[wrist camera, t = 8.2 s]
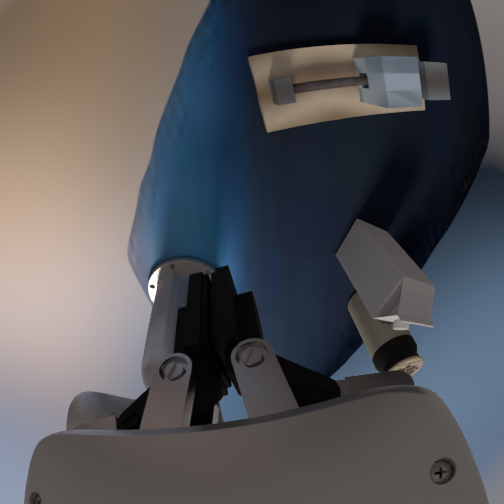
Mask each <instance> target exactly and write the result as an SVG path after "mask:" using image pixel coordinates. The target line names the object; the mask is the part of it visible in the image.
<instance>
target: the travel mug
mask: <svg viewBox="0 0 504 504" xmlns="http://www.w3.org/2000/svg"><path fill="white" fill-rule="evenodd" d="M348 310H349V312H350V314H351V316H352V318H353V320H354V322H355V324H356V326H357V329H358V331H359V333H360V335H361V337H362V339H363V341H364V343H365V345H366V348H367V350H368V352H369V354H370V357H371V359H372V361H373V363H374V365H375V368H376V369H377V370H378V371H380V372H387V371H393V370H401V371H404V372H407V373H408V374H409V375H410V376H412V375H414V374H415V373H416V372H417V371H418V370H419V369H420V367H421V366H422V364H423V358H422V357H421V356H419V355H418V354H417V345H416V342H415V341H414V339H413V337H412V336H411V334H410V332H409V331H408V329H407V330H394V329H393V322H390V321H384V320H379V319H374V318H372V317H371V316H370V314H369V312H368V310H367V308H366V307H365V305H364V303H363V301H362V299H361V298H360V296H359V294H358V292H356V293H355V294H354V295H353V296H352V297H351V299H350V301H349V303H348Z"/></svg>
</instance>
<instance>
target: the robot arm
mask: <svg viewBox="0 0 504 504" xmlns="http://www.w3.org/2000/svg"><path fill="white" fill-rule="evenodd" d="M148 293H149V296H150V298H151V300H152V302H153V308H152V313H151V318H150V322H149V328H148V332H147V338H146V343H145V349H144V355H143V361H142V378H143V381H144V384H145V386H146V388H147V390H146V391H145V392H144V393H143V394H142V395H141V396H140V397H139V398H138V399H136V400H134V399H129V398H123V397H119V396H114V395H109V394H105V393H99V392H92V391H87V392H82V393H80V394H78V395H77V396H76V397H75V398H74V399H73V401H72V402H71V405H70V407H69V411H68V416H67V431H62V432H58V433H55V434H52V435H49V436H47V437H45V438H44V439H42V440H41V441H40V442H39V443H38V444H37V446H36V448H35V450H34V453H33V455H32V459H31V462H30V467H29V471H28V477H27V483H26V490H25V500H24V504H489V503H488V500H487V496H486V492H485V489H484V486H483V482H482V479H481V476H480V474H479V471H478V468H477V466H476V463H475V460H474V458H473V455H472V453H471V450H470V448H469V446H468V444H467V442H466V439H465V437H464V435H463V433H462V431H461V429H460V427H459V425H458V423H457V422H456V420H455V418H454V417H453V415H452V413H451V411H450V410H449V409H448V407H447V406H446V404H445V403H444V402H443V400H442V399H441V398H440V397H439V396H438V395H437V394H436V393H434V392H433V391H431V390H430V389H427V388H424V387H420V386H415V385H414V381H413V379H412V377H411V376H410V375H409V374H408V373H407V372H404V371H401V370H393V371H387V372H380V373H374V374H366V375H359V376H351V377H345V380H337V381H335V380H333V379H331V378H330V377H327V376H325V375H322V374H320V373H317V372H315V371H312V370H310V369H308V368H305V367H303V366H300V365H298V364H296V363H293V362H291V361H289V360H287V359H284V358H282V357H280V356H278V355H275V353H274V351H273V349H272V347H271V345H270V344H269V343H268V342H267V341H265V340H264V338H263V333H262V328H261V323H260V319H259V315H258V310H257V306H256V303H255V299H254V296H253V292H252V291H251V292H247V293H242V294H238V295H237V292H236V289H235V286H234V282H233V279H232V276H231V273H230V270H229V267H228V265H227V266H223V267H219V268H215V269H214V268H213V267H212V266H210V265H209V264H207V263H205V262H203V261H201V260H198V259H194V258H187V257H179V258H173V259H169V260H167V261H164V262H162V263H161V264H159V265H158V266H157V267H156V268H155V269H154V270H153V272H152V273H151V275H150V278H149V281H148ZM231 381H232V383H233V384H234V386H235V388H236V390H237V392H238V394H239V395H241V396H242V398H243V401H244V404H245V407H246V410H247V413H248V417H249V418H248V419H242V420H236V421H229V422H223V418H222V414H221V409H220V403H219V401H220V400H221V399H222V397H223V396H225V395H228V390H227V388H228V387H231ZM433 463H434V464H433ZM444 483H445V484H444ZM443 484H444V485H443Z"/></svg>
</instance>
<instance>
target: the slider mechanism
mask: <svg viewBox="0 0 504 504" xmlns="http://www.w3.org/2000/svg"><path fill="white" fill-rule="evenodd" d="M376 56H403V57H417V62H418V68H419V75H420V83H421V92H422V102H423V106H420V107H403V108H391V109H388V108H384V107H380V106H376V105H372V104H367V103H363V102H361V101H360V95H359V88H358V86H361V85H369V84H368V78H367V76H356V71H355V66H354V61H353V58H362V57H376ZM248 61H249V65H250V69H251V73H252V77H253V81H254V85H255V88H256V92H257V96H258V100H259V105H260V109H261V113H262V117H263V121H264V125H265V130H266V131H267V132H272V131H277V130H281V129H286V128H291V127H296V126H301V125H307V124H312V123H318V122H323V121H329V120H336V119H342V118H349V117H357V116H364V115H373V114H382V113H392V112H404V111H418V110H425V102H424V99H426V100H450V91H449V81H448V72H447V65H446V63H436V62H420V61H419V56H418V50H417V46H413V45H397V44H345V45H328V46H316V47H307V48H298V49H290V50H283V51H277V52H271V53H265V54H259V55H254V56H249V57H248Z"/></svg>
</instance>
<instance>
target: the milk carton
mask: <svg viewBox="0 0 504 504" xmlns="http://www.w3.org/2000/svg"><path fill="white" fill-rule="evenodd" d="M336 256H337V258H338V259H339V261H340V263H341V264H342V266H343V268H344V270H345V271H346V273H347V275H348V276H349V278H350V280H351V282H352V283H353V285H354V287H355V289H356V290H357V292H358V294H359V296H360V298H361V299H362V301H363V303H364V305H365V307H366V308H367V310H368V312H369V314H370V316H371V317H372V318H374V319H379V320H384V321H390V322H393V329H394V330H407V329H409V324H417V325H423V326H428V327H434V325H433V324H432V322H431V321H430V319H431V313H432V306H433V299H434V291H435V287H434V286H433V285H432V283H431V282H430V281H429V279H428V278H427V277H426V276H425V274H424V273H423V272H422V271H421V270H420V268H419V267H418V266H417V265H416V264H415V263H414V261H413V260H412V259H411V258H410V257H409V256H408V254H407V253H406V252H405V251H404V250H403V249H402V248H401V247H400V245H399V244H398V243H397V242H396V241H395V240H394V239H393V238H392V237H391V235H390V234H389V233H388V232H387V231H385V230H382V229H380V228H378V227H376V226H373V225H371V224H369V223H367V222H364V221H362V220H360V219H356V221H355V222H354V224H353V226H352V228H351V229H350V231H349V233H348V234H347V236H346V238H345V239H344V241H343V243H342V245H341V246H340V248H339V250H338V251H337V253H336Z"/></svg>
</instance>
